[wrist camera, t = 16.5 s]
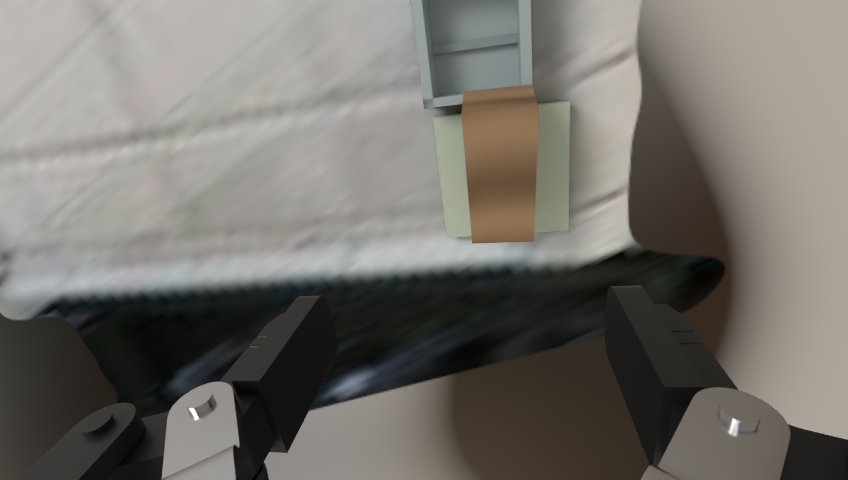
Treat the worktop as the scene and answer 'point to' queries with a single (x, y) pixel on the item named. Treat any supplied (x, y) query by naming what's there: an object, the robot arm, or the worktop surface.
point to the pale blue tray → (471, 47)
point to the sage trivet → (548, 178)
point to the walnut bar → (501, 162)
